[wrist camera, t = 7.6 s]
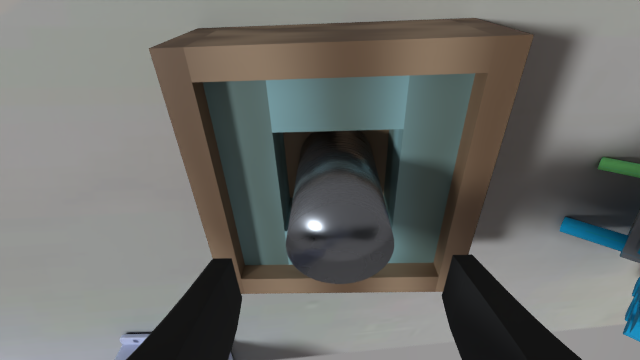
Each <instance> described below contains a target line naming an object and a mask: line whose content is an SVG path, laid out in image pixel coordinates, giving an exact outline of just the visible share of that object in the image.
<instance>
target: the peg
mask: <svg viewBox="0 0 640 360" xmlns="http://www.w3.org/2000/svg"><path fill="white" fill-rule="evenodd" d="M286 251H287V255H288V257H289V259H290V261H291V262H292V264H293V265H294V266H295V267H296V268H297V269H298V270H299V271H300V272H301V273H303V274H304V275H306V276H308V277H310V278H312V279H314V280H317V281H321V282H325V283H331V284H349V283H355V282H358V281H362V280H365V279H367V278H369V277H371V276H373V275H375V274H376V273H378V272H379V271H380V270H382V269H383V268H384V267H385V266H386V265H387V263H388V262H389V260H390V259H391V257H392V254H393V251H394V237H393V233H392V229H391V224H390V220H389V216H388V212H387V208H386V204H385V200H384V196H383V192H382V188H381V184H380V180H379V176H378V172H377V168H376V164H375V160H374V156H373V152H372V148H371V145H370V143H369V141H368V139H367V138H366V137H365V135H364V134H363V133H362V132H360V131H359V130H352V131H315V132H312V133H311V134H310V135H309V136H308V137H307V138H306V139H305V141H304V143H303V145H302V147H301V151H300V157H299V164H298V170H297V176H296V182H295V188H294V194H293V200H292V207H291V213H290V219H289V225H288V231H287V237H286Z"/></svg>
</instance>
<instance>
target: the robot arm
mask: <svg viewBox="0 0 640 360" xmlns="http://www.w3.org/2000/svg"><path fill="white" fill-rule="evenodd" d="M442 299H443V303H444V307H445V311H446V315H447V319H448V322H449V326H450V329H451V332H452V335H453V337H454V340H455V343H456V345H457V348H458V350H459V353H460V356H461V358H462V360H582V359H581V358H580V357H578V356H577V355H576V354H575V353H574V352H572V351H571V350H570V349H569V348H568V347H567V346H565V345H564V344H563V343H562V342H561V341H560V340H559V339H558V338H556V337H555V336H554V335H553V334H552V333H551V332H550V331H549V330H547V329H546V328H545V327H544V326H543V325H542V324H541V323H540V322H539V321H538V320H537V319H536V318H535V317H534V316H532V315H531V314H530V313H529V312H528V311H527V310H526V309H525V308H524V307H523V306H522V305H521V304H520V303H519V302H518V301H517V300H516V299H515V298H514V297H513V296H512V295H511V294H510V293H509V292H508V291H507V290H506V289H505V288H504V287H503V286H502V285H501V284H500V283H499V282H498V281H497V280H496V279H495V278H494V277H493V276H492V275H491V274H490V273H489V272H488V271H487V270H486V269H485V268H484V267H483V265H482V264H481V263H480V262H479V261H478V260H477V259H476V258H475V257H474V256H473V255H452V259H451V263H450V267H449V271H448V275H447V278H446V282H445V286H444V290H443V294H442ZM241 302H242V296H241V292H240V288H239V285H238V281H237V277H236V273H235V269H234V265H233V261H232V258H214V259H212V260H211V261H210V263H209V264H208V265H207V267H206V268H205V269H204V270H203V272H202V273H201V274H200V276H199V277H198V278H197V279H196V281H195V282H194V283H193V284H192V286H191V287H190V288H189V289H188V291H187V292H186V293H185V294H184V296H183V297H182V298H181V299H180V300H179V301H178V303H177V304H176V305H175V306H174V307H173V309H172V310H171V311H170V312H169V313H168V315H167V316H166V317H165V318H164V319H163V320H162V321H161V323H160V324H159V325H158V326H157V327H156V328H155V329H154V330H153V331H152V332H151V334H124V335H122V336H121V338H120V342H121V343H122V347H121V348H120V350H119V352H118V354H117V356H116V358H115V359H114V360H233V357H232V354H231V348H232V345H233V341H234V338H235V334H236V330H237V325H238V320H239V314H240V308H241Z"/></svg>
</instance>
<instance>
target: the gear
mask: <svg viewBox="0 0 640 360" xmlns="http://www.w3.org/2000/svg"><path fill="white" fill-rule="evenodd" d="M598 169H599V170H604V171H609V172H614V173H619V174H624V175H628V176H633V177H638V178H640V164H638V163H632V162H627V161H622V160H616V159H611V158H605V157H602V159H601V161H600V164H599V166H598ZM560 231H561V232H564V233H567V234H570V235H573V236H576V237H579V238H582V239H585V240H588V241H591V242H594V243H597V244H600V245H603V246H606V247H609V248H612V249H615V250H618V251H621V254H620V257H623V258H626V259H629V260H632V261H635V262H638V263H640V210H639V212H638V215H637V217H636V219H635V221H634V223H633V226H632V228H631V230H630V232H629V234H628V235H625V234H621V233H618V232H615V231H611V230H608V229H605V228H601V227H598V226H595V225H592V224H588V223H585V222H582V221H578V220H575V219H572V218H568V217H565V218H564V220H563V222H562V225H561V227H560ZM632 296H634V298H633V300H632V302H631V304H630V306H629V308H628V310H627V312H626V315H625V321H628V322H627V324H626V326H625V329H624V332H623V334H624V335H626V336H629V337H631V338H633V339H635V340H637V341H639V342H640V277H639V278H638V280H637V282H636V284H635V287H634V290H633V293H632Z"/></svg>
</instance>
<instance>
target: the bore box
mask: <svg viewBox="0 0 640 360" xmlns="http://www.w3.org/2000/svg"><path fill="white" fill-rule="evenodd" d="M533 36H534V35H533V34H530V33H526V32H522V31H519V30H515V29H512V28H508V27H505V26H501V25H498V24H494V23H491V22H487V21H483V20H480V19H476V18H461V19H435V20H408V21H382V22H355V23H328V24H302V25H275V26H249V27H222V28H198V29H195V30H193V31H190V32H188V33H185V34H183V35H181V36H178V37H176V38H173V39H171V40H168V41H166V42H164V43H161V44H159V45H156V46H154V47H151V48H149V51H150V54H151V57H152V60H153V64H154V67H155V70H156V74H157V77H158V80H159V83H160V87H161V90H162V93H163V97H164V100H165V103H166V106H167V110H168V113H169V116H170V120H171V123H172V126H173V129H174V133H175V136H176V139H177V143H178V146H179V149H180V152H181V156H182V159H183V162H184V165H185V169H186V172H187V175H188V179H189V182H190V185H191V188H192V192H193V195H194V198H195V202H196V205H197V208H198V211H199V215H200V218H201V221H202V225H203V228H204V231H205V234H206V238H207V241H208V244H209V248H210V251H211V254H212V257H213V259H214V258H232V261H233V265H234V269H235V273H236V277H237V281H238V285H239V288H240V292H241V294H259V293H352V292H443V290H444V286H445V282H446V278H447V275H448V271H449V267H450V263H451V259H452V255H468V254H469V250H470V247H471V244H472V240H473V237H474V234H475V230H476V227H477V224H478V220H479V217H480V213H481V210H482V207H483V203H484V200H485V197H486V193H487V190H488V187H489V183H490V180H491V177H492V173H493V170H494V167H495V163H496V160H497V157H498V153H499V150H500V147H501V143H502V140H503V136H504V133H505V130H506V126H507V123H508V120H509V116H510V113H511V110H512V106H513V103H514V100H515V96H516V93H517V90H518V86H519V83H520V80H521V76H522V73H523V69H524V66H525V63H526V59H527V56H528V53H529V49H530V46H531V43H532V39H533ZM352 130H359V131H360V132H362V133H363V134H364V135H365V137H366V138H367V139H368V141H369V143H370V145H371V148H372V152H373V156H374V160H375V164H376V168H377V172H378V176H379V180H380V184H381V188H382V192H383V196H384V200H385V204H386V208H387V212H388V216H389V220H390V224H391V229H392V233H393V237H394V251H393V254H392V257H391V259H390V260H389V262H388V263H387V265H386V266H385V267H384V268H383V269H382V270H380V271H379V272H378V273H376V274H375V275H373V276H371V277H369V278H367V279H365V280H362V281H358V282H355V283H349V284H331V283H325V282H321V281H317V280H314V279H312V278H310V277H308V276H306V275H304V274H303V273H301V272H300V271H299V270H298V269H297V268H296V267H295V266H294V265H293V264H292V262H291V261H290V259H289V257H288V255H287V251H286V237H287V231H288V225H289V219H290V213H291V207H292V200H293V194H294V188H295V182H296V176H297V170H298V164H299V157H300V151H301V147H302V145H303V143H304V141H305V139H306V138H307V137H308V136H309V135H310V134H311V133H312V132H315V131H352Z"/></svg>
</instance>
